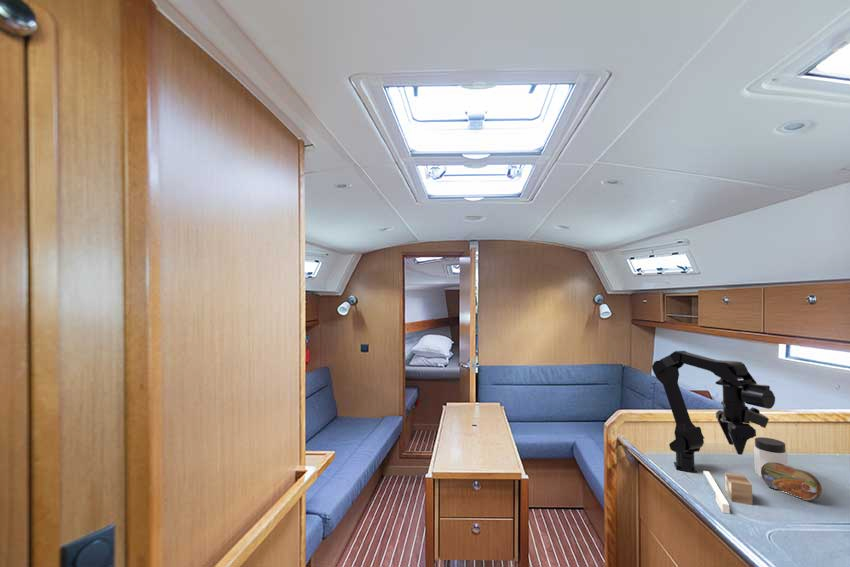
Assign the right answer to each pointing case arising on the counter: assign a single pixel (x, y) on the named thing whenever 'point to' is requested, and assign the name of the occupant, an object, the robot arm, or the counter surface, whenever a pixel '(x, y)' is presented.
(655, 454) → the counter surface
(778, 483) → the tin
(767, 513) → the counter surface
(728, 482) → the tea box
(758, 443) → the jar
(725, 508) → the rail
